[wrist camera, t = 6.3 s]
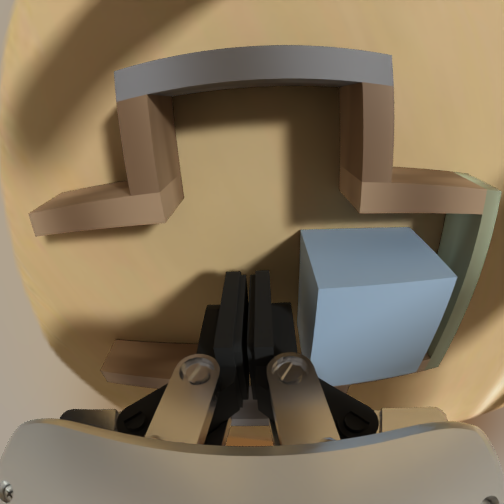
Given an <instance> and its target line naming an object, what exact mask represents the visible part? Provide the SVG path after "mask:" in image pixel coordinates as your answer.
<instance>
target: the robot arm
mask: <svg viewBox="0 0 504 504" xmlns="http://www.w3.org/2000/svg"><path fill="white" fill-rule="evenodd" d="M249 374H250V380H251V388H252V396H253V400H257V403H258V410H259V411H260V412H262V413H263V414H264V415H265V416H267V417H268V418H269V425H270V430H271V435H272V440H273V445H274V446H255V447H254V446H248V447H247V446H245V447H244V446H225V445H226V441H227V437H228V434H229V430H230V426H231V422H232V416H233V415H234V414H235V413H237V412H238V411H239V410H240V408H243V400H248V399H249ZM0 504H504V474H503V471H502V468H501V465H500V462H499V459H498V457H497V454H496V452H495V450H494V448H493V446H492V444H491V442H490V440H489V439H488V437H487V436H486V434H485V433H484V432H483V431H482V430H481V429H480V428H478V427H476V426H474V425H472V424H468V423H463V422H455V421H448V420H447V417H446V414H445V413H444V412H443V411H442V410H441V409H439V408H437V407H414V408H382V409H381V411H379V410H372V409H371V408H370V407H368V406H367V405H365V404H363V403H361V402H359V401H358V400H356V399H354V398H352V397H351V396H349V395H347V394H345V393H344V392H342V391H340V390H339V389H337V388H335V387H333V386H332V385H330V384H328V383H327V382H325V381H323V380H322V379H320V378H318V376H317V373H316V371H315V368H314V365H313V364H312V362H311V360H310V359H308V358H307V357H306V356H304V355H302V354H300V353H297V345H296V337H295V330H294V322H293V315H292V308H291V303H290V302H283V303H271V291H270V273H269V270H260V271H255V274H253V275H250V288H249V302H248V290H247V279H246V275H241V272H240V271H236V272H226V276H225V282H224V288H223V293H222V299H221V305H208V306H207V308H206V312H205V316H204V321H203V325H202V329H201V334H200V339H199V343H198V348H197V352H196V354H194V355H190V356H188V357H185V358H184V359H182V360H181V361H180V362H179V363H178V364H177V366H176V367H175V370H174V372H173V374H172V376H171V378H170V381H169V383H167V384H166V385H164V386H162V387H161V388H159V389H157V390H156V391H154V392H152V393H151V394H149V395H147V396H146V397H144V398H142V399H140V400H139V401H137V402H135V403H134V404H132V405H130V406H128V407H127V408H125V409H124V410H123V411H122V412H118V411H117V410H116V409H107V410H106V409H103V410H87V409H72V410H68V411H66V412H65V413H63V414H62V416H61V417H60V419H52V418H51V419H50V418H48V419H35V420H30V421H27V422H24V423H23V424H21V425H20V426H19V427H18V428H17V429H16V430H15V431H14V433H13V435H12V436H11V438H10V440H9V441H8V443H7V445H6V447H5V450H4V452H3V454H2V457H1V459H0Z"/></svg>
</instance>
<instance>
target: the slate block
mask: <svg viewBox="0 0 504 504" xmlns="http://www.w3.org/2000/svg"><path fill="white" fill-rule="evenodd" d="M456 280H457V276H456V275H455V273H454V272H453V271H452V270H451V269H450V268H449V267H448V266H447V265H446V264H445V262H444V261H443V260H442V259H441V258H440V257H439V256H438V255H437V254H436V253H435V252H434V251H433V250H432V249H431V248H430V247H429V246H428V245H427V244H426V243H425V242H424V241H423V240H422V239H421V238H420V237H419V236H418V235H417V234H416V233H415V232H414V231H413V230H412V229H411V228H410V227H392V228H345V229H311V230H301V231H300V270H299V295H298V315H297V326H298V333H299V339H300V346H301V353H302V355H304V356H306V357H307V358H308V359H310V360H311V362H312V364H313V365H314V368H315V371H316V373H317V376H318V378H320V379H322V380H323V381H325V382H327V383H328V384H330V385H332V386H339V385H347V384H354V383H361V382H367V381H374V380H379V379H385V378H390V377H395V376H400V375H405V374H409V373H414V372H416V371H417V370H418V368H419V366H420V364H421V362H422V360H423V358H424V356H425V354H426V352H427V350H428V348H429V346H430V344H431V342H432V340H433V338H434V335H435V333H436V331H437V329H438V326H439V324H440V322H441V319H442V317H443V315H444V312H445V310H446V307H447V305H448V302H449V299H450V297H451V294H452V291H453V289H454V286H455V283H456Z"/></svg>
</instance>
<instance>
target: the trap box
mask: <svg viewBox="0 0 504 504" xmlns="http://www.w3.org/2000/svg"><path fill="white" fill-rule="evenodd" d="M114 78H115V91H116V102H117V111H118V120H119V128H120V136H121V143H122V149H123V156H124V162H125V168H126V174H127V179H128V180H127V181H121V182H115V183H109V184H104V185H98V186H93V187H88V188H83V189H78V190H73V191H68V192H63V193H61V194H59V195H57V196H56V197H54V198H52V199H51V200H49V201H47V202H46V203H44V204H43V205H41V206H39V207H38V208H36V209H35V210H33V211H32V212H30V213H29V217H30V221H31V224H32V227H33V230H34V233H35V236H43V235H51V234H59V233H68V232H77V231H86V230H95V229H104V228H114V227H125V226H136V225H147V224H159V223H166V222H167V220H168V219H169V217H170V216H171V215H172V213H173V212H174V211H175V209H176V208H177V207H178V205H179V204H180V203H181V202H182V200H183V199H184V193H183V186H182V179H181V172H180V165H179V157H178V149H177V141H176V132H175V123H174V113H173V103H172V97H173V96H178V95H184V94H191V93H198V92H205V91H214V90H223V89H233V88H246V87H264V86H324V87H339V108H340V180H339V191H340V192H341V193H342V194H343V195H344V196H345V197H346V198H347V199H348V201H349V202H350V203H351V204H352V205H353V206H354V207H355V209H356V210H357V211H358V212H359V213H446V217H445V222H444V227H443V232H442V237H441V241H440V245H439V249H438V254H437V255H438V256H439V257H440V258H441V259H442V260H443V261H444V262H445V264H446V265H447V266H448V267H449V268H450V269H451V270H452V271H453V272H454V273H455V275H456V276H457V280H456V283H455V286H454V289H453V291H452V294H451V297H450V299H449V302H448V305H447V307H446V310H445V312H444V315H443V317H442V319H441V322H440V324H439V326H438V329H437V331H436V333H435V335H434V338H433V340H432V342H431V344H430V346H429V348H428V350H427V352H426V354H425V356H424V358H423V360H422V362H421V364H420V366H419V368H418V370H417V371H416V372H420V371H424V370H428V369H432V368H436V367H438V366H439V364H440V362H441V361H442V359H443V357H444V355H445V353H446V351H447V350H448V348H449V346H450V344H451V342H452V340H453V338H454V336H455V334H456V332H457V330H458V327H459V325H460V323H461V321H462V319H463V317H464V314H465V312H466V310H467V307H468V305H469V302H470V300H471V298H472V295H473V292H474V290H475V287H476V285H477V282H478V279H479V276H480V273H481V270H482V267H483V264H484V261H485V258H486V255H487V252H488V248H489V245H490V241H491V237H492V234H493V230H494V226H495V222H496V217H497V213H498V208H499V203H500V198H501V192H502V191H500V190H498V189H496V188H495V187H493V186H491V185H489V184H487V183H485V182H483V181H481V180H479V179H477V178H475V177H473V176H471V175H469V174H466V173H458V172H449V171H440V170H429V169H417V168H403V167H392V166H393V147H394V86H393V68H392V55H387V54H382V53H376V52H369V51H363V50H355V49H346V48H336V47H323V46H301V45H271V46H249V47H235V48H225V49H216V50H208V51H201V52H195V53H189V54H183V55H178V56H173V57H168V58H163V59H158V60H154V61H150V62H146V63H142V64H138V65H134V66H131V67H127V68H124V69H120V70H117V71H114ZM197 348H198V344H178V343H155V342H139V341H126V340H115V341H114V343H113V345H112V347H111V349H110V352H109V354H108V356H107V358H106V360H105V362H104V364H103V366H102V368H101V372H102V374H103V376H104V377H105V379H106V380H107V382H112V383H119V384H125V385H132V386H140V387H148V388H157V389H159V388H161V387H162V386H164V385H166V384H167V383H169V381H170V378H171V376H172V374H173V372H174V370H175V367H176V366H177V364H178V363H179V362H180V361H181V360H182V359H184V358H185V357H188V356H190V355H194V354H196V352H197ZM416 372H414V373H416ZM409 374H412V373H409ZM405 375H407V374H405ZM400 376H403V375H400ZM395 377H398V376H395ZM390 378H393V377H390ZM385 379H388V378H385ZM379 380H383V379H379ZM374 381H377V380H374ZM367 382H371V381H367ZM361 383H365V382H361ZM354 384H359V383H354ZM349 385H352V384H347V385H339V386H333V387H335V388H337V389H339V390H340V391H342V392H344V393H345V394H346V393H347V391H348V388H349ZM231 426H270V425H269V418H268V417H267V416H265V415H264V414H263V413H262V412H260V411H259V410H258V403H257V400H253V396H252V388H251V386H249V399H248V400H243V408H240V410H239V411H238V412H237V413H235V414H234V415H233V416H232V422H231Z"/></svg>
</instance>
